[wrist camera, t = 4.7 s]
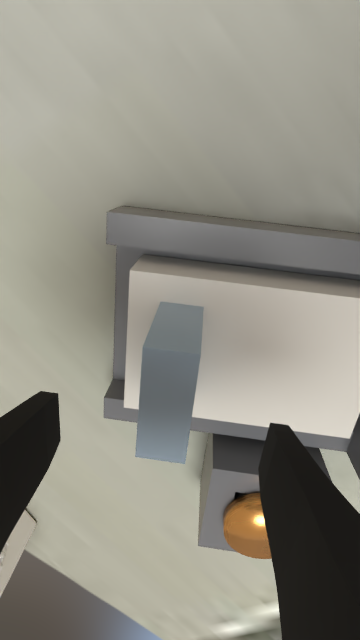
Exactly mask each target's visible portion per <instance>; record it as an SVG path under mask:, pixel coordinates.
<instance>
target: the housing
mask: <svg viewBox="0 0 360 640" xmlns="http://www.w3.org/2000/svg"><path fill="white" fill-rule="evenodd" d="M106 244H110V245H117V253H116V289H115V326H114V362H113V380H112V382H111V384H110V386H109V388H108V390H107V392H106V395H105V397H104V418H108V419H115V420H122V421H129V422H136V423H138V409H131V408H124V389H125V367H126V344H127V321H128V298H129V275H130V269H131V268H132V267H133V266H134V264H135V263H136V262H137V261H138V260H139V258H140V257H141V256H142V255H152V256H160V257H168V258H176V259H185V260H193V261H201V262H209V263H218V264H226V265H234V266H243V267H251V268H259V269H267V270H276V271H284V272H292V273H300V274H309V275H317V276H325V277H333V278H342V279H350V280H358V281H360V233H352V232H343V231H335V230H326V229H317V228H309V227H300V226H292V225H283V224H274V223H266V222H257V221H248V220H240V219H231V218H223V217H214V216H205V215H197V214H188V213H179V212H171V211H162V210H154V209H145V208H136V207H128V206H121V207H118V208H115V209H113V210H110V211H108V212H107V238H106ZM268 429H269V427H261V426H254V425H247V424H240V423H232V422H225V421H218V420H211V419H203V418H196V417H192V419H191V426H190V430H193V431H201V432H208V433H209V434H208V440H207V446H206V452H205V457H204V463H203V469H202V475H201V481H200V507H199V534H198V546H201V547H208V548H215V549H221V550H228V551H234V552H237V551H235V550H234V549H233V548H232V547H230V545H229V544H228V543H227V541H226V540H225V537H224V530H223V515H224V512H225V510H226V508H227V507H228V505H229V504H230V503H231V502H233V500H234V495H235V492H240V493H247V494H252V493H260V488H259V473H258V467H259V463H260V459H261V455H262V452H263V448H264V444H265V440H266V436H267V432H268ZM293 432H294V433H295V435H296V436H297V437H298V439H299V440H300V441H301V443H302V444H303V445H304V447H305V448H306V450H307V451H308V452H309V454H310V455H311V456H312V458H313V459H314V460H315V462H316V463H317V464H318V466H319V467H320V468H321V469H322V471H323V472H324V473H325V474H326V476H327V477H328V478H329V479H330V481H331V478H330V476H329V473H328V471H327V468H326V465H325V463H324V460H323V458H322V455H321V452H320V450H319V448H322V449H329V450H337V451H344V452H347V454H348V456H349V458H350V460H351V463H352V465H353V467H354V469H355V471H356V473H357V475H358V477H359V479H360V414H359V416H358V419H357V421H356V424H355V426H354V429H353V432H352V434H351V437H350V439H348V438H341V437H334V436H326V435H319V434H312V433H305V432H297V431H293ZM331 482H332V481H331Z"/></svg>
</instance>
